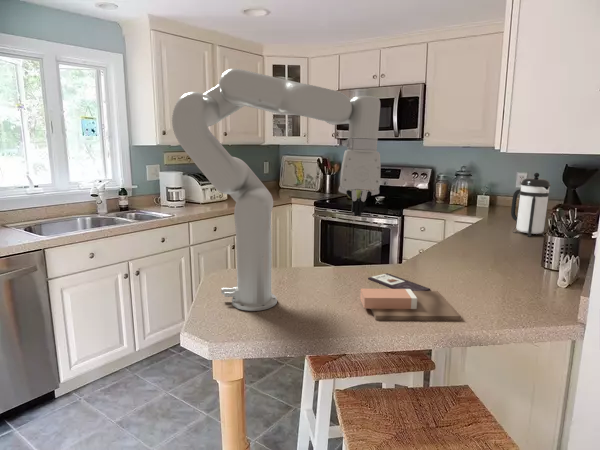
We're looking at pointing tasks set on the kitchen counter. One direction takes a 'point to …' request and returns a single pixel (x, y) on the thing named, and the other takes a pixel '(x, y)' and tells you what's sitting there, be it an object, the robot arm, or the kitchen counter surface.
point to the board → (421, 309)
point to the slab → (388, 299)
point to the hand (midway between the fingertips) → (357, 215)
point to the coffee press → (531, 205)
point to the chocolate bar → (397, 282)
